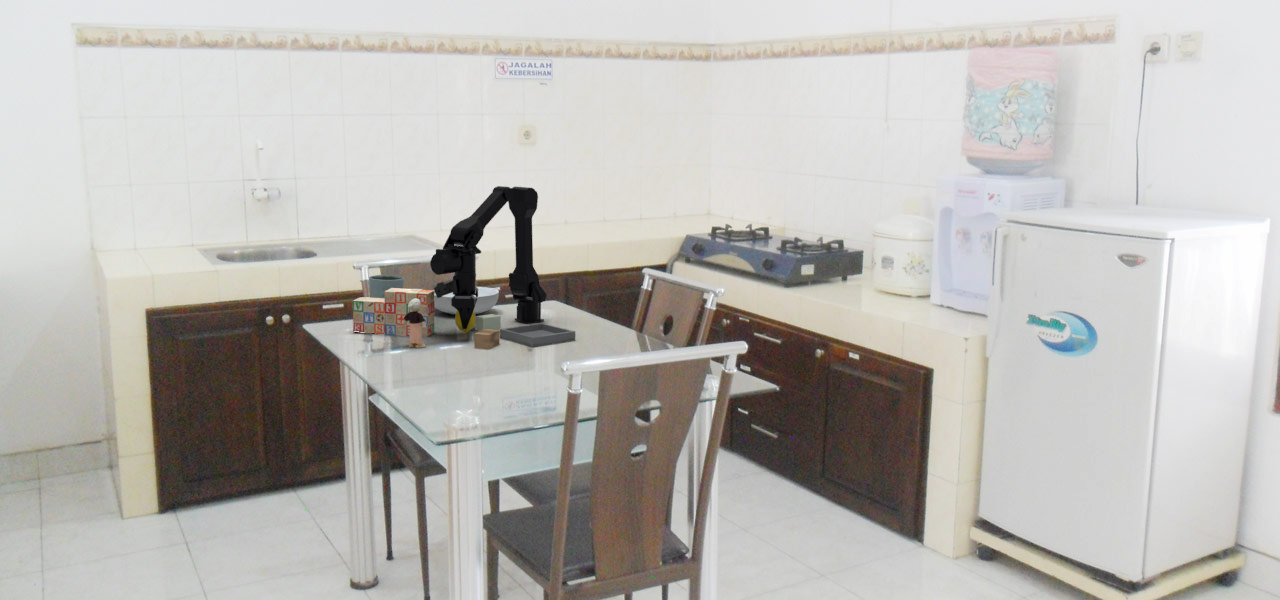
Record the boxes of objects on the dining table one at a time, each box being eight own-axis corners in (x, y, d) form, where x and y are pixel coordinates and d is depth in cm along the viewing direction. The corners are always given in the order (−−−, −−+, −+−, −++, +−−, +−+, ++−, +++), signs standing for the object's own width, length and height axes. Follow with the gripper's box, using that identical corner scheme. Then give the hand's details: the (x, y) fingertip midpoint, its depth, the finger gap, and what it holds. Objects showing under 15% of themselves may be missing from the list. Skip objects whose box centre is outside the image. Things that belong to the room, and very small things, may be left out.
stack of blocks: (352, 333, 297) (351, 289, 295) (361, 329, 303) (360, 286, 301) (428, 337, 294) (427, 293, 292) (435, 333, 300) (434, 289, 298)
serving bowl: (472, 305, 345) (472, 283, 344) (512, 314, 330) (512, 292, 329) (416, 312, 331) (416, 289, 329) (456, 322, 316) (455, 299, 315)
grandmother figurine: (432, 346, 283) (431, 298, 281) (424, 348, 279) (423, 300, 277) (406, 343, 285) (405, 296, 283) (398, 346, 282) (397, 298, 280)
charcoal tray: (542, 331, 305) (542, 323, 305) (575, 340, 295) (575, 331, 294) (499, 338, 295) (499, 329, 295) (532, 347, 285) (532, 337, 284)
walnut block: (485, 343, 289) (485, 328, 288) (499, 344, 288) (499, 330, 287) (474, 348, 282) (474, 333, 281) (488, 350, 281) (488, 334, 280)
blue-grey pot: (369, 314, 325) (369, 274, 323) (404, 313, 327) (403, 274, 325) (369, 320, 315) (369, 279, 313) (405, 319, 318) (404, 279, 316)
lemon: (456, 331, 301) (455, 303, 300) (476, 331, 302) (476, 303, 300) (454, 335, 296) (454, 306, 295) (474, 335, 296) (474, 306, 295)
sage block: (492, 327, 310) (492, 314, 309) (500, 329, 307) (500, 316, 306) (475, 330, 306) (475, 316, 305) (483, 332, 303) (483, 318, 302)
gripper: (438, 265, 304) (438, 320, 307) (431, 275, 286) (432, 333, 289) (478, 266, 305) (478, 320, 308) (474, 276, 287) (474, 333, 290)
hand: (465, 326), depth 299 cm, fingers closed on lemon, 5 cm apart
